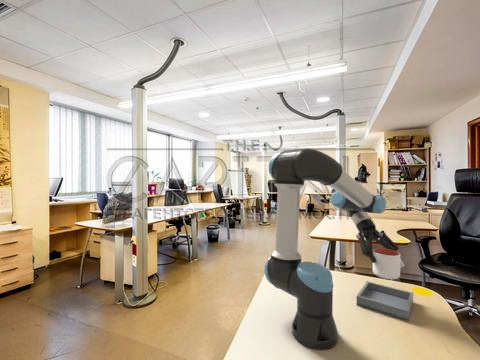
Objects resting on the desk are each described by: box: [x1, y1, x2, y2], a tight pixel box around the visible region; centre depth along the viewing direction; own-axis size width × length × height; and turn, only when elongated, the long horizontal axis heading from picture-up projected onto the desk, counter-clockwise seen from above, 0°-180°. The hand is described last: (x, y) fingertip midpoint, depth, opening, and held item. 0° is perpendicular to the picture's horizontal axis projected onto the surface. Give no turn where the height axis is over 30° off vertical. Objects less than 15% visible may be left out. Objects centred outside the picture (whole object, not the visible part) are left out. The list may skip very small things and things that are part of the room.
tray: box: [356, 281, 414, 322], centre depth 104 cm, size 18×18×4 cm
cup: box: [372, 247, 401, 280], centre depth 103 cm, size 10×10×10 cm
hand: (391, 268), depth 100 cm, fingers closed on cup, 10 cm apart
